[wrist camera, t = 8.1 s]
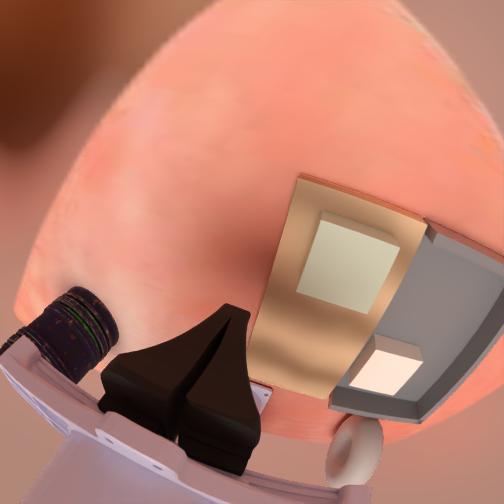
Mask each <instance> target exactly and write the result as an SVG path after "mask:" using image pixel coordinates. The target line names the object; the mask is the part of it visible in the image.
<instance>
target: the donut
mask: <svg viewBox="0 0 504 504" xmlns="http://www.w3.org/2000/svg"><path fill="white" fill-rule="evenodd" d="M383 441H384V436H383V430H382V426H381V424H380V423H379V421H378V419H377V418H371V417H366V416H360V415H355V414H353V415H352V416H350V417H349V418H347V419H346V420H345V421H344V422H343V423H342V424H341V426H340V427H339V428H338V430H337V432H336V433H335V435H334V437H333V440H332V442H331V444H330V447H329V450H328V454H327V459H326V468H325V472H326V479H327V481H328V483H329V484H330V486H331V487H332V488H338V489H339V488H341V487H342V486H345V485H363V484H364V483H366V482H367V481H368V480H369V478H370V477H371V476H372V474H373V473H374V471H375V469H376V467H377V465H378V463H379V461H380V457H381V454H382V450H383Z"/></svg>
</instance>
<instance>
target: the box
mask: <svg viewBox="0 0 504 504" xmlns="http://www.w3.org/2000/svg"><path fill="white" fill-rule="evenodd" d="M423 220H424V221H425V222H426V224H427V225H428V226H427V228H426V230H425V233H424V235H423V237H422V240H421V242H420V244H419V246H418V248H417V251H416V253H415V255H414V257H413V259H412V261H411V263H410V265H409V267H408V269H407V271H406V273H405V275H404V277H403V279H402V281H401V283H400V285H399V287H398V289H397V291H396V293H395V294H394V296H393V298H392V300H391V302H390V304H389V305H388V307H387V309H386V311H385V312H384V314H383V316H382V317H381V319H380V321H379V322H378V324H377V326H376V327H375V329H374V331H373V332H372V334H371V335H370V337H369V339H368V340H367V342H366V343H365V345H364V346H363V348H362V350H361V351H360V353H359V354H358V356H357V357H356V358H355V360H354V361H353V363H352V364H351V366H350V367H349V369H348V370H347V371H346V373H345V374H344V376H343V377H342V378H341V380H340V381H339V383H338V384H337V385H336V387H335V388H334V389H333V391H332V392H331V393H330V395H329V404H328V409H332V410H336V411H341V412H345V413H350V414H355V415H360V416H366V417H371V418H377V419H383V420H390V421H397V422H405V423H413V424H421V423H422V422H423V421H424V420H425V419H427V418H428V417H429V416H430V415H431V414H432V413H433V412H434V411H435V410H437V409H438V408H439V407H440V406H441V405H442V404H443V403H444V402H445V401H446V400H447V399H448V398H449V397H450V396H451V395H452V394H453V393H454V392H455V391H456V390H457V389H458V388H459V387H460V386H461V385H462V383H463V382H464V381H465V380H466V379H467V378H468V377H469V376H470V375H471V373H472V372H473V371H474V370H475V369H476V368H477V367H478V365H479V364H480V363H481V362H482V360H483V359H484V358H485V357H486V356H487V354H488V353H489V352H490V350H491V349H492V348H493V346H494V345H495V344H496V342H497V341H498V340H499V338H500V337H501V336H502V334H503V333H504V257H503V256H501V255H499V254H498V253H496V252H494V251H492V250H490V249H488V248H486V247H484V246H482V245H481V244H479V243H477V242H475V241H473V240H471V239H469V238H467V237H465V236H463V235H461V234H458V233H456V232H454V231H452V230H450V229H448V228H446V227H444V226H441V225H439V224H437V223H435V222H432V221H430V220H428V219H426V218H424V219H423ZM374 334H378V335H381V336H384V337H388V338H391V339H394V340H398V341H401V342H405V343H408V344H412V345H415V346H419V347H420V351H421V355H422V359H423V363H422V364H421V365H420V366H419V368H418V369H417V370H416V371H415V372H414V374H413V375H412V376H411V377H410V378H409V379H408V380H407V381H406V383H405V384H404V385H403V386H402V387H401V388H400V389H399V390H398V391H397V392H396V393H395V394H394V395H388V394H384V393H379V392H374V391H370V390H366V389H361V388H357V387H353V386H349V370H350V368H351V367H352V366H353V364H354V363H355V361H356V360H357V359H358V357H359V356H360V354H361V353H362V351H363V350H364V348H365V347H366V345H367V344H368V342H369V341H370V339H371V338H372V336H373V335H374Z"/></svg>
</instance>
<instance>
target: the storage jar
mask: <svg viewBox="0 0 504 504" xmlns="http://www.w3.org/2000/svg"><path fill="white" fill-rule="evenodd" d="M23 335H25V336H26V337H27V338H28V339H29V340H30V341H31V342H32V343H33V344H34V345H35V346H36V347H37V348H38V350H39V352H40V354H41V357H42V358H43V359H44V360H46V361H47V362H48V363H49V364H50V365H52V366H53V367H54V368H55V369H57V370H58V371H59V372H60V373H62V374H63V375H64V376H65V377H67V378H68V379H69V380H71V381H72V382H73V383H75V384H76V385H77V383H78V382H79V381H80V380H81V379H82V378H83V377H84V376H85V374H86V373H87V372H88V371H89V370H91V369H93V368H94V367H95V366H96V365H97V364H98V363H99V362H100V361H102V360H103V359H104V357H105V356H106V355H107V353H108V352H109V351H110V349H111V347H113V346H114V345H115V344H116V343H117V341H118V338H119V333H118V328H117V325H116V323H115V321H114V319H113V317H112V315H111V314H110V312H109V310H108V309H107V308H106V306H105V305H104V304H103V303H102V302H101V301H100V300H99V299H98V298H97V297H96V296H95V295H94V294H93V293H91V292H90V291H88V290H87V289H85V288H82V287H78V286H76V287H73V288H71V289H70V290H69V291H68V292H67V293H65V294H63V295H62V296H60V297H58V298H57V299H56V300H54V301H53V302H52V304H50V305H48V307H46V308H45V309H44V312H43V313H42V314H41V315H40V316H39V317H38V318H36V319H35V320H34V321H33V322H32V323H30V324H29V325H28V326H27V327H23V328H21V329H19V330H18V332H17V333H16V334H13V335H12V336H11V337H10V338H9V339H8V340H7V342H5V343H4V345H2V348H1V349H0V356H1V355H2V354H3V353H4V352H5V351H6V350H7V349H8V348H10V347H11V346H12V345H13V344H14V343H15V342H16V341H17V340H18V339H19V338H21V337H22V336H23Z"/></svg>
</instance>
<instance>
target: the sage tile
mask: <svg viewBox="0 0 504 504" xmlns="http://www.w3.org/2000/svg"><path fill="white" fill-rule="evenodd" d="M399 250H400V246H399V244H398V242H397V240H396V238H395V237H394V235H391V234H389V233H386V232H384V231H381V230H378V229H375V228H373V227H370V226H367V225H364V224H362V223H359V222H356V221H353V220H350V219H347V218H344V217H342V216H339V215H336V214H333V213H330V212H327V211H324V210H322V213H321V216H320V219H319V222H318V225H317V228H316V231H315V234H314V237H313V240H312V243H311V246H310V248H309V251H308V254H307V257H306V260H305V263H304V266H303V268H302V271H301V274H300V277H299V281H298V285H297V289H296V292H298V293H301V294H304V295H308V296H311V297H314V298H317V299H320V300H323V301H326V302H329V303H332V304H336V305H339V306H342V307H345V308H348V309H351V310H355V311H358V312H361V313H364V314H367V313H368V312H369V310H370V308H371V306H372V304H373V302H374V301H375V299H376V297H377V295H378V293H379V291H380V289H381V287H382V285H383V283H384V281H385V279H386V277H387V275H388V273H389V271H390V269H391V267H392V265H393V263H394V261H395V258H396V256H397V254H398V252H399Z"/></svg>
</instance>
